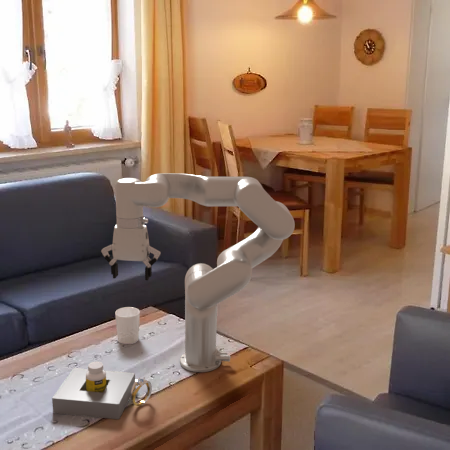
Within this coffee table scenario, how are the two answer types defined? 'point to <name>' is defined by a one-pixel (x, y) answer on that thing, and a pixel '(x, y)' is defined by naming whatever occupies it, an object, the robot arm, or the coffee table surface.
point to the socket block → (93, 395)
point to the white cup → (127, 325)
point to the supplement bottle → (95, 377)
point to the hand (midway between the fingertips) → (131, 277)
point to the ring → (134, 392)
